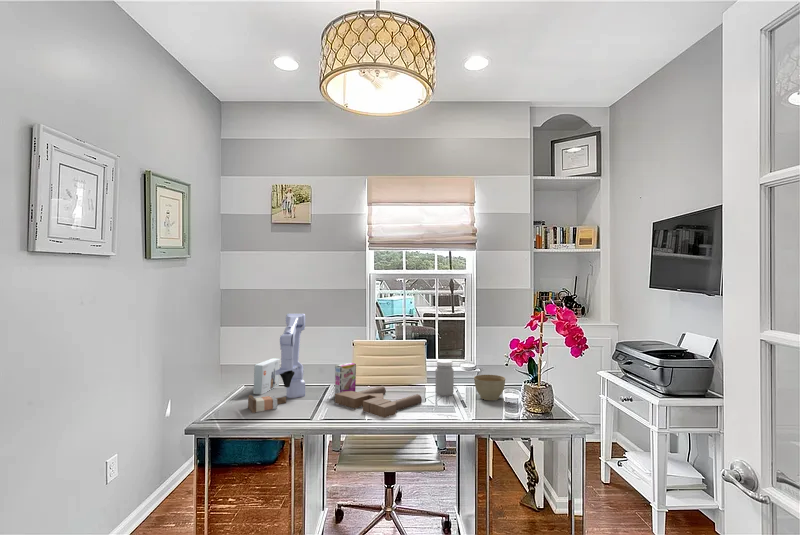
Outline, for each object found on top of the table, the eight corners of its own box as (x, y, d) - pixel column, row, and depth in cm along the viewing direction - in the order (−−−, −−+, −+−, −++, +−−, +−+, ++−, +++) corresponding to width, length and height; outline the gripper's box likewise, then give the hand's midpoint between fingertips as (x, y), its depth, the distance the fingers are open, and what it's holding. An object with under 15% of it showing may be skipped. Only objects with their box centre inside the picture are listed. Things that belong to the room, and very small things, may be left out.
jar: (456, 393, 253) (456, 360, 254) (449, 397, 245) (449, 363, 245) (439, 391, 258) (439, 358, 258) (432, 395, 249) (432, 361, 249)
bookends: (384, 419, 211) (425, 405, 232) (384, 407, 211) (425, 394, 232) (334, 404, 234) (376, 393, 256) (334, 393, 234) (376, 383, 256)
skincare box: (262, 395, 249) (262, 365, 249) (252, 394, 250) (253, 364, 250) (280, 385, 270) (280, 358, 270) (271, 385, 271) (271, 357, 271)
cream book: (261, 408, 223) (261, 397, 223) (264, 411, 218) (264, 400, 218) (252, 409, 221) (252, 398, 221) (255, 412, 216) (255, 401, 216)
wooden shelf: (285, 404, 232) (285, 390, 232) (291, 409, 223) (291, 395, 223) (248, 409, 223) (248, 395, 223) (252, 414, 214) (252, 400, 214)
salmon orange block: (269, 406, 226) (269, 396, 226) (272, 409, 220) (272, 399, 220) (260, 407, 224) (261, 397, 224) (263, 410, 218) (264, 400, 219)
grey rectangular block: (273, 405, 226) (274, 396, 226) (277, 408, 221) (277, 399, 221) (269, 406, 225) (269, 396, 225) (272, 409, 220) (273, 399, 220)
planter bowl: (495, 393, 254) (495, 373, 254) (511, 401, 238) (511, 380, 238) (468, 395, 249) (468, 375, 249) (483, 403, 233) (483, 382, 234)
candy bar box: (340, 397, 244) (340, 366, 244) (334, 396, 247) (334, 365, 247) (356, 393, 252) (356, 363, 253) (350, 392, 256) (350, 362, 256)
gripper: (290, 355, 235) (290, 382, 234) (270, 360, 222) (270, 389, 222) (301, 357, 231) (301, 384, 231) (281, 362, 218) (281, 391, 218)
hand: (287, 387), depth 226 cm, fingers closed
